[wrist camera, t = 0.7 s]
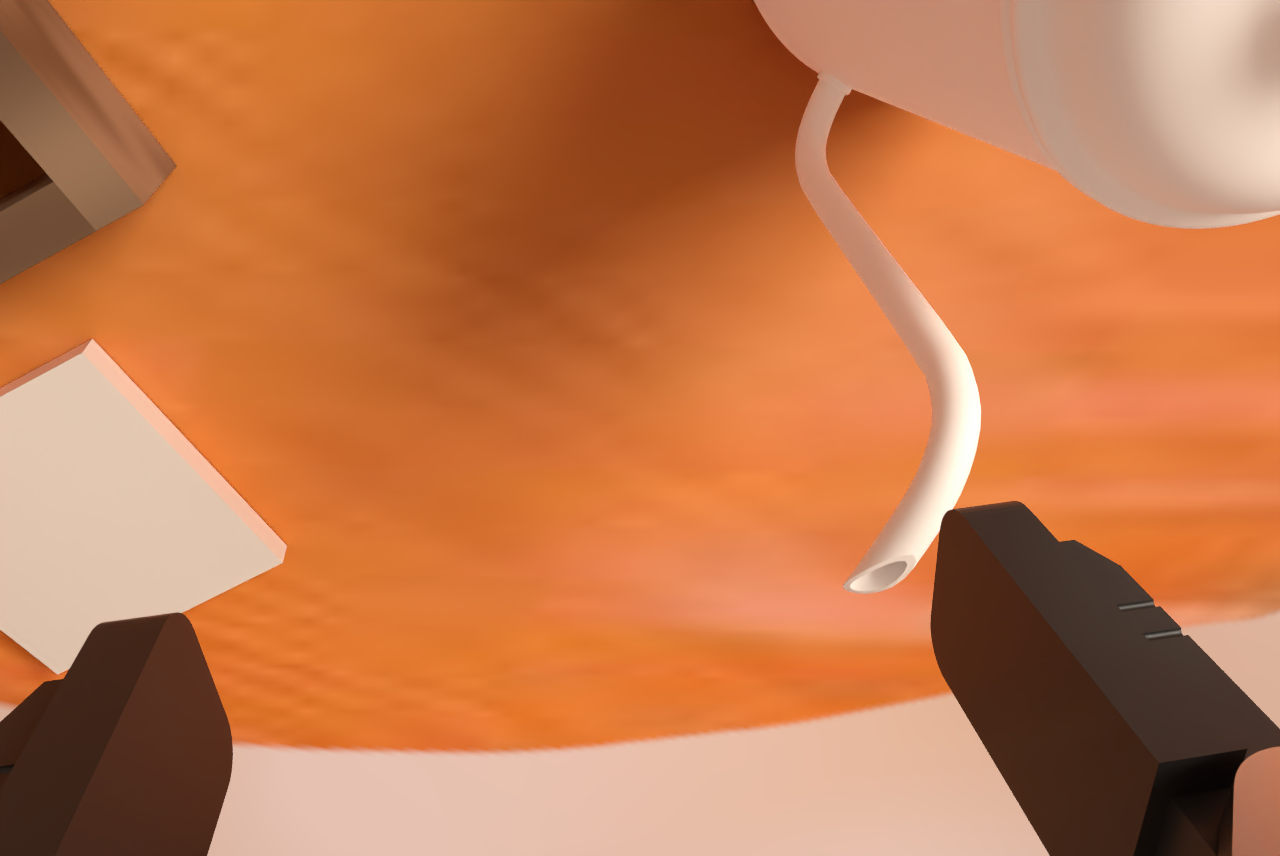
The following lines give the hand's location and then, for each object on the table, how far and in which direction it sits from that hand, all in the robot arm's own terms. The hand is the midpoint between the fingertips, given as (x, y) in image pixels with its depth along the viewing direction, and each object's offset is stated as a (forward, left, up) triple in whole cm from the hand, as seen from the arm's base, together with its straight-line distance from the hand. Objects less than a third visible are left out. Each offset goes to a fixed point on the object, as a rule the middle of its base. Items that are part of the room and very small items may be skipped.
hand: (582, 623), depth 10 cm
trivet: (+5, -20, -22) cm, 30 cm away
